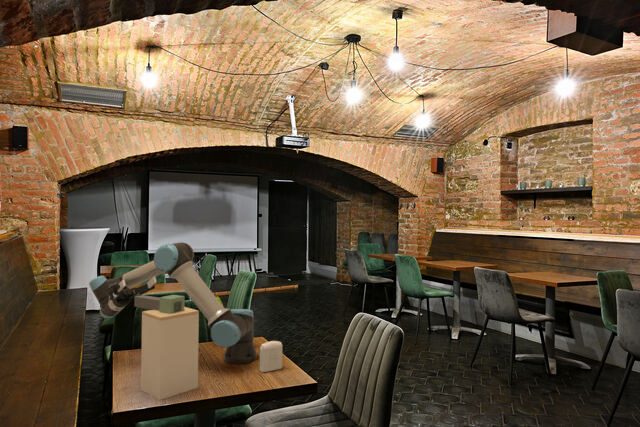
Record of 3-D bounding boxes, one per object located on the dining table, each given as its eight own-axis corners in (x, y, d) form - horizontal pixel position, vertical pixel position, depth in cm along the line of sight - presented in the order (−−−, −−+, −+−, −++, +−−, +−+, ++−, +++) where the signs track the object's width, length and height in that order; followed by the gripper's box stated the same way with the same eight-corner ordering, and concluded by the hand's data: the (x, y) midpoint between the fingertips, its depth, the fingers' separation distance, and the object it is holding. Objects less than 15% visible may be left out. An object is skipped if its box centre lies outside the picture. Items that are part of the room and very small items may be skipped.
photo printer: (279, 366, 199) (279, 338, 199) (283, 369, 195) (283, 340, 195) (258, 370, 193) (258, 342, 193) (262, 373, 190) (262, 344, 190)
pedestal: (197, 387, 173) (198, 310, 173) (159, 400, 162) (160, 317, 162) (178, 378, 183) (179, 305, 183) (141, 389, 171) (142, 311, 171)
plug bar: (184, 310, 174) (184, 296, 174) (170, 313, 168) (170, 299, 168) (145, 304, 185) (145, 290, 184) (131, 307, 178) (131, 293, 178)
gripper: (148, 303, 209) (169, 285, 197) (92, 311, 190) (111, 292, 178) (144, 288, 212) (165, 270, 199) (89, 295, 193) (108, 275, 181)
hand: (140, 280), depth 189 cm, fingers open, 13 cm apart
